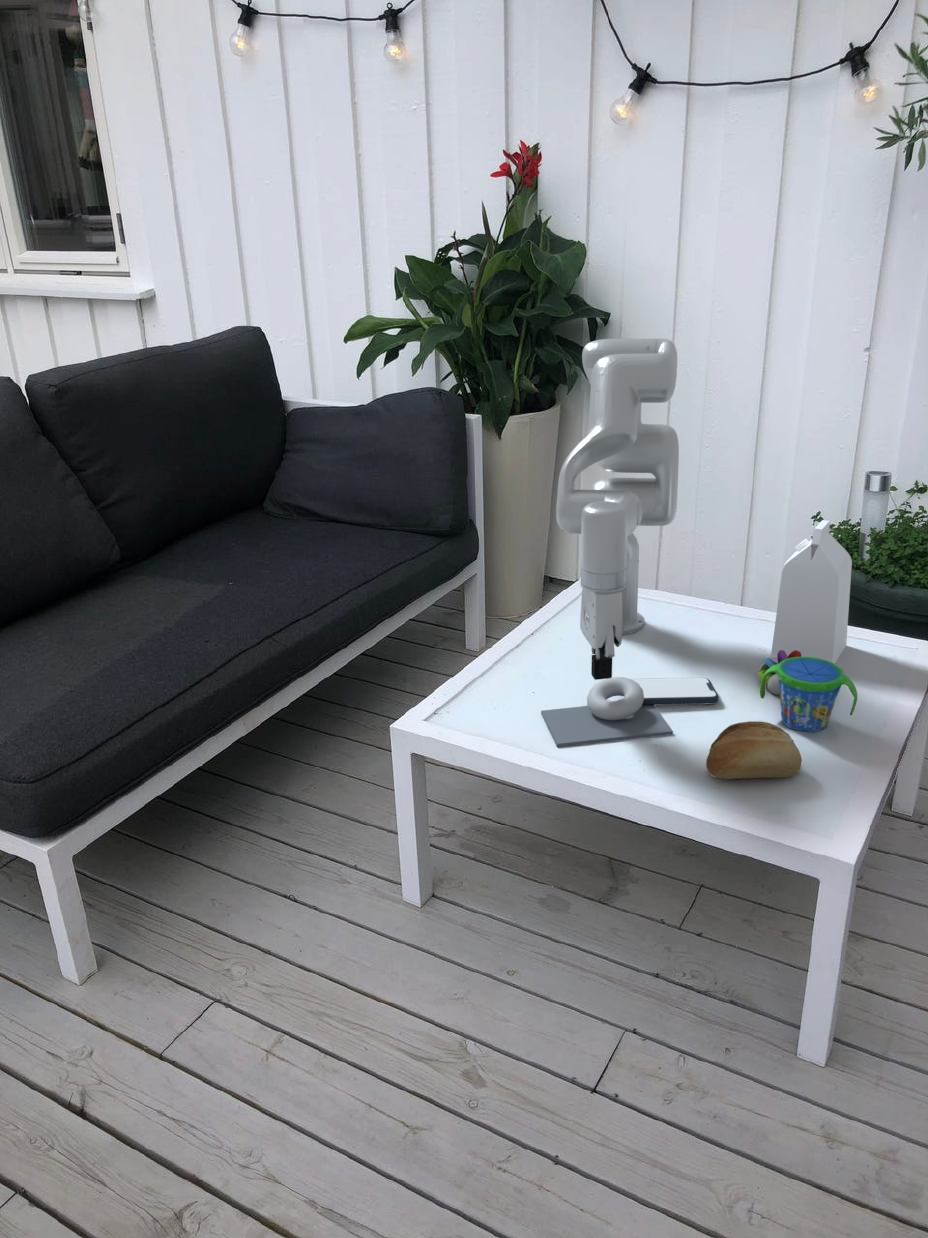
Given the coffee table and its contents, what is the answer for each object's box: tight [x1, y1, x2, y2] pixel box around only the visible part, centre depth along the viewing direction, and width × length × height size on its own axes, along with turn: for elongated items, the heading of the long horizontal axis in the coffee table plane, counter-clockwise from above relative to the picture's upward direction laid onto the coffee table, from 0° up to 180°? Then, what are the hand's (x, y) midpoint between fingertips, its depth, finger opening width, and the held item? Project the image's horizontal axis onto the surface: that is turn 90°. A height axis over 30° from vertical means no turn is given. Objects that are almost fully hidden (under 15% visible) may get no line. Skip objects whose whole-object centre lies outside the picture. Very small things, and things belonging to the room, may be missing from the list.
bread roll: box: [705, 720, 803, 780], centre depth 156 cm, size 10×15×8 cm, turn 97°
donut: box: [586, 676, 644, 721], centre depth 176 cm, size 10×4×10 cm
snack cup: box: [759, 657, 858, 733], centre depth 170 cm, size 16×10×10 cm
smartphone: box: [631, 677, 719, 706], centre depth 182 cm, size 9×2×16 cm
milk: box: [770, 519, 853, 664], centre depth 193 cm, size 12×12×26 cm
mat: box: [540, 705, 674, 748], centre depth 174 cm, size 12×20×1 cm, turn 99°
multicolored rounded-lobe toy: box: [758, 650, 801, 696], centre depth 183 cm, size 8×10×7 cm
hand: (601, 676), depth 173 cm, fingers closed
